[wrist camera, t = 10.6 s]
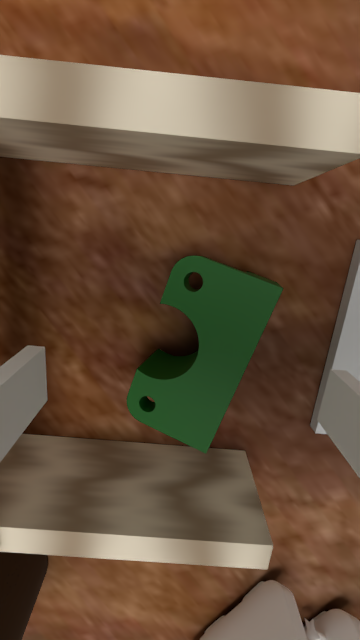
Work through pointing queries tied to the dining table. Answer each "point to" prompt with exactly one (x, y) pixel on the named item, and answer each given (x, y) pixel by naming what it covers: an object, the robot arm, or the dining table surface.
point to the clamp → (203, 350)
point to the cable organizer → (280, 619)
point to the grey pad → (344, 335)
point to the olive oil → (19, 590)
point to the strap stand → (167, 157)
